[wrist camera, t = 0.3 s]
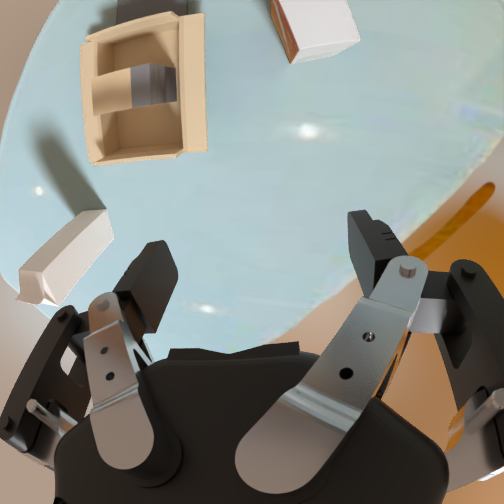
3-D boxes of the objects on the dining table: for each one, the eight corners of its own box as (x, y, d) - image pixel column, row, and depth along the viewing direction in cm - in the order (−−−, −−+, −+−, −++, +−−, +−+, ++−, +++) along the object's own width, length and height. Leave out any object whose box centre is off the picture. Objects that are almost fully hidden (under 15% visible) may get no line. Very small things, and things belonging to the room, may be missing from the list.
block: (125, 78, 31) (91, 78, 23) (175, 68, 30) (149, 63, 23) (127, 108, 33) (93, 116, 26) (177, 101, 33) (151, 104, 25)
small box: (269, 16, 26) (268, -19, 15) (314, 7, 24) (333, -28, 13) (289, 66, 30) (298, 50, 19) (334, 56, 28) (364, 40, 17)
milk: (82, 210, 43) (5, 281, 25) (107, 208, 43) (27, 285, 24) (91, 239, 47) (23, 316, 28) (115, 238, 46) (48, 322, 27)
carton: (98, 47, 28) (67, 44, 21) (212, 22, 27) (197, 6, 20) (106, 154, 38) (77, 169, 31) (215, 144, 37) (201, 156, 30)
